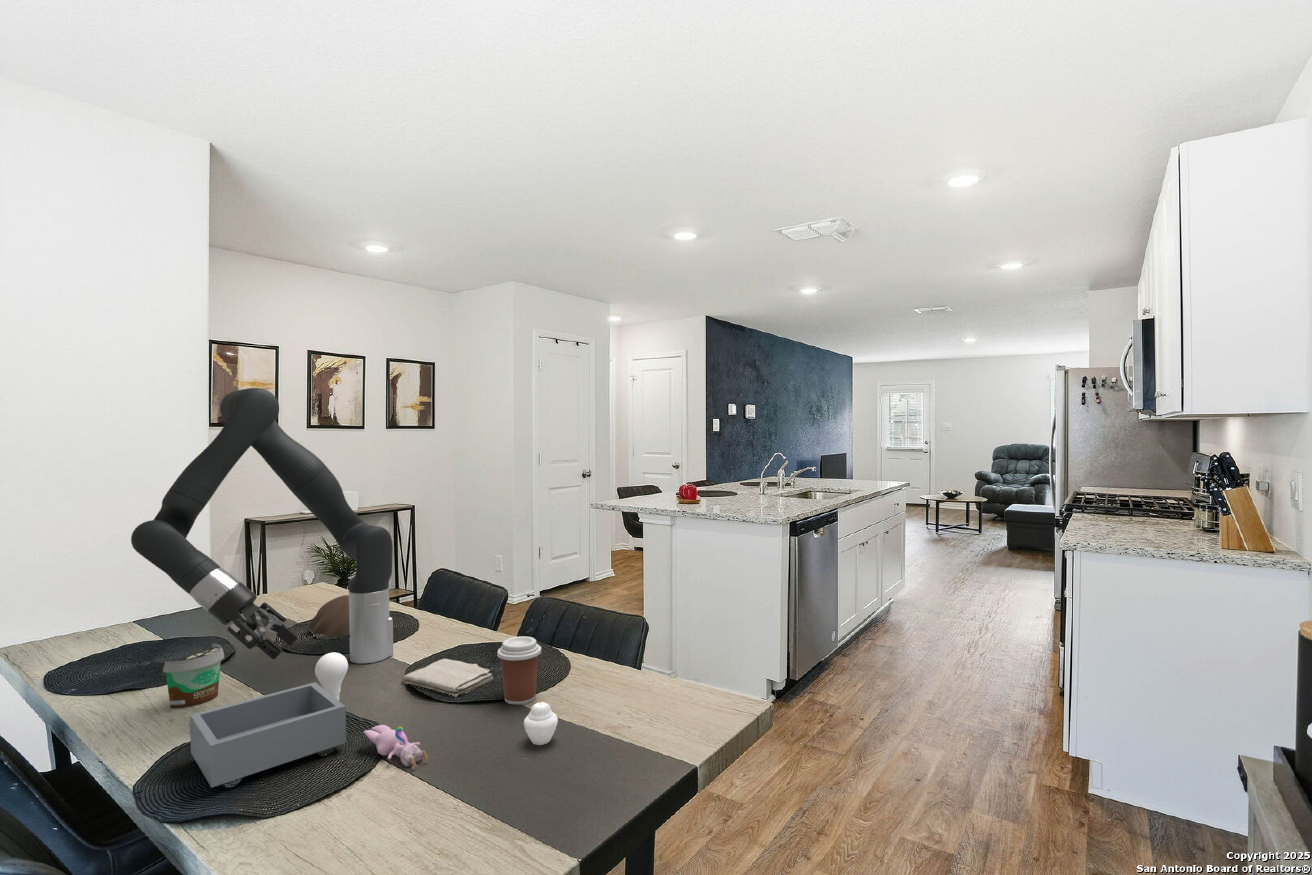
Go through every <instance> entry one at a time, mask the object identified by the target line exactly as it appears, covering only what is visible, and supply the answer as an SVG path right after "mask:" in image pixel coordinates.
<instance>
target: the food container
mask: <svg viewBox="0 0 1312 875" xmlns="http://www.w3.org/2000/svg"><path fill="white" fill-rule="evenodd" d="M224 658H225V653H224V648H222V646H221V645H220V644H217V643H212V645H211V648H209V649H207V650H204V651H202V652H196V653H192V654H189V655H187V656H186V657H184V658H181V659H180V660H177V661H176V660H175V661H164V665H163V669H162V673H165V675H166V682H167V691H168V692H167V693H168V699H169V700H168V701H169V708H170V709H184V708H185V709H186V708H191V707H196V706H200V705H203V704H206V703H208V702H211V701H213V700H214V699H216V698H217V697H218V695H219V686H220V685H219V684H220V675H221V663H222V662H221V661H222V660H223V659H224Z"/></svg>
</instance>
